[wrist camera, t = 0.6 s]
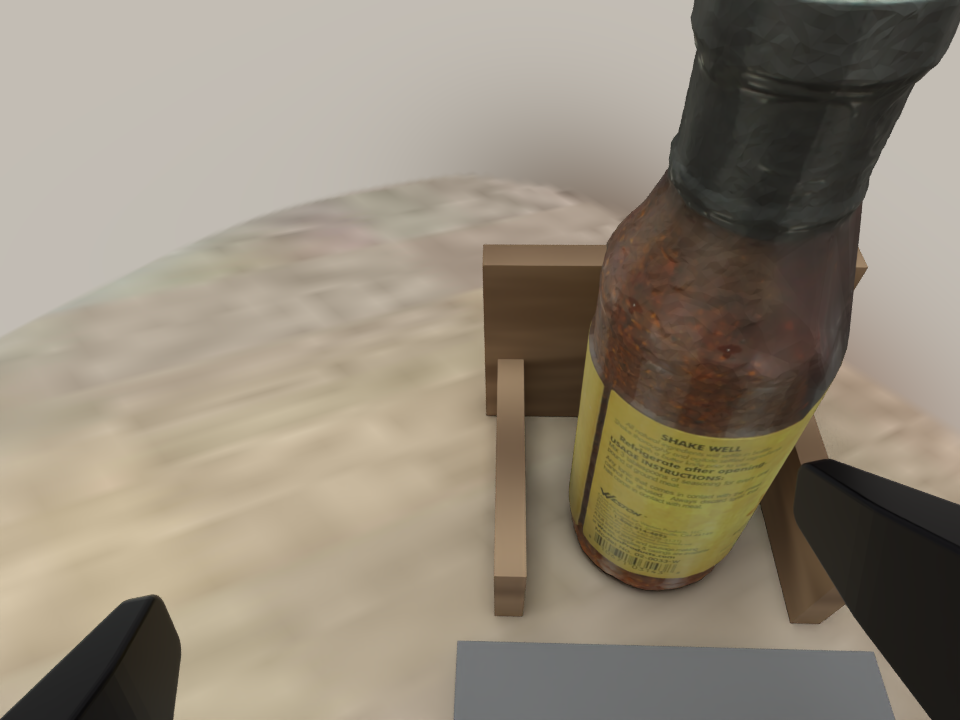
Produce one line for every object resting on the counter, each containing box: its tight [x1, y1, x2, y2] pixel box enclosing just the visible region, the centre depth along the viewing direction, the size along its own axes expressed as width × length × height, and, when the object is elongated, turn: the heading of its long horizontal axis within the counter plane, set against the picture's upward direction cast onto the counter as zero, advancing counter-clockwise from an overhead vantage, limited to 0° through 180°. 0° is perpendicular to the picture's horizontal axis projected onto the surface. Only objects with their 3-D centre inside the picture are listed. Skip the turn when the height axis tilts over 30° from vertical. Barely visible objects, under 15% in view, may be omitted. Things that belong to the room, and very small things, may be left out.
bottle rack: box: [483, 245, 868, 624], centre depth 22 cm, size 10×12×9 cm
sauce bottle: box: [569, 0, 960, 591], centre depth 18 cm, size 7×6×20 cm
